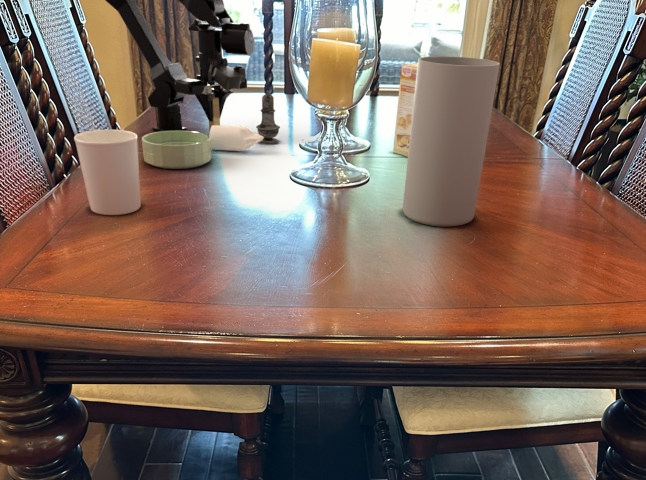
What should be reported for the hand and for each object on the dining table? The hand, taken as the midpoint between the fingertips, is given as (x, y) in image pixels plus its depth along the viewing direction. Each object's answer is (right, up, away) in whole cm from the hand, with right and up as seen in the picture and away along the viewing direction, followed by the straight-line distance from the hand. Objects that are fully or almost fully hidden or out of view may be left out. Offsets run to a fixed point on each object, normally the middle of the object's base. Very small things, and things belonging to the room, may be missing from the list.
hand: (214, 120), depth 154 cm
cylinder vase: (+48, -33, -46) cm, 74 cm away
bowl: (-4, -16, -21) cm, 27 cm away
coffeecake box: (+52, -10, -5) cm, 53 cm away
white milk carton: (+8, -11, -11) cm, 18 cm away
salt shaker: (+14, -6, -2) cm, 15 cm away
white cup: (-8, -32, -49) cm, 59 cm away
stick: (0, -3, +2) cm, 4 cm away
